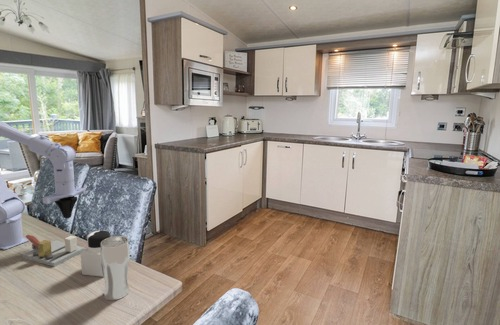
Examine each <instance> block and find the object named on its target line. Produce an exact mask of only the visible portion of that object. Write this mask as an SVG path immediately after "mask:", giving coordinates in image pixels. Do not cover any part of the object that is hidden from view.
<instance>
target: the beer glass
mask: <svg viewBox="0 0 500 325" xmlns="http://www.w3.org/2000/svg"><path fill="white" fill-rule="evenodd" d="M130 250H131V249H130V242H129V238H128V237H126V236H124V235H115V236H110V237H109V238H106V239H104V240H103V241H102V242H101V249H100V261H101V267H102V271H103V275H104V277H103V278H104V292H103V293H104V294H103V297H104V299H106V300H108V301H117V300H121V299H123V298H125V297H126V296H127V295H128V294H129V291H130V288H129V287H130V286H129V283H128V273H129V267H130V256H131V253H130V252H131V251H130Z"/></svg>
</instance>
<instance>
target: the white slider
mask: <svg viewBox="0 0 500 325" xmlns="http://www.w3.org/2000/svg"><path fill="white" fill-rule="evenodd" d="M64 242H65V251H68V252H72V251H74V250H76V249H77V246H78V239H77V236H74V235H69V236H67V237H65V238H64Z"/></svg>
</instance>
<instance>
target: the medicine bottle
mask: <svg viewBox="0 0 500 325" xmlns="http://www.w3.org/2000/svg"><path fill="white" fill-rule="evenodd" d="M109 237H111V233H110V232H109V231H107V230H95V231H93V232H91V233H89V234H88V235H87V236H86V239H87V240H86V241H87V248H85V250H84V251H83V252H81V253H80V264H81V274H82V275H83V276H91V277H92V276H93V277H99V278H100V277H102V278H104V275H103V271H102V267H101V261H100V249H101V242H102V241H103V240H104V239H106V238H109Z"/></svg>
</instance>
